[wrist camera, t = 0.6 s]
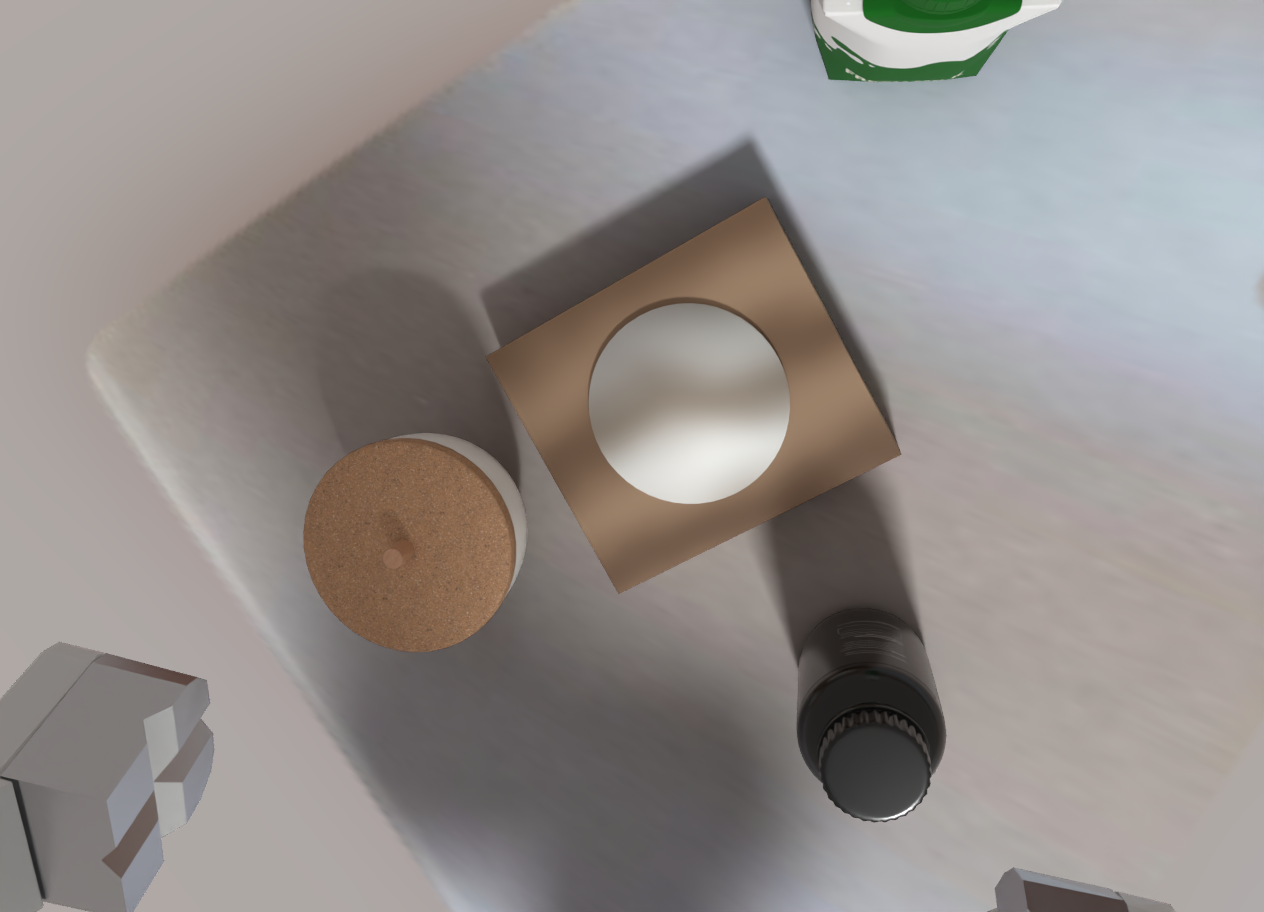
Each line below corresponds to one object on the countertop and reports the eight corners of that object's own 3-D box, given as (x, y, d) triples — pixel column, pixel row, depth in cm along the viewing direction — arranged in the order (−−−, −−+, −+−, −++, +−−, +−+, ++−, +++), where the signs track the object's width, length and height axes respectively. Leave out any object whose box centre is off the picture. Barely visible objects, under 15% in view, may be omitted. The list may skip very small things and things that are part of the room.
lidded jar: (331, 532, 63) (248, 582, 54) (424, 377, 60) (353, 402, 51) (486, 639, 62) (429, 708, 53) (586, 489, 60) (544, 533, 50)
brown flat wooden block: (897, 443, 56) (901, 455, 53) (628, 576, 60) (617, 595, 57) (767, 199, 55) (764, 196, 52) (501, 351, 59) (483, 357, 56)
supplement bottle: (773, 675, 60) (761, 780, 48) (850, 579, 58) (857, 664, 46) (876, 750, 60) (889, 873, 48) (956, 656, 58) (990, 761, 46)
